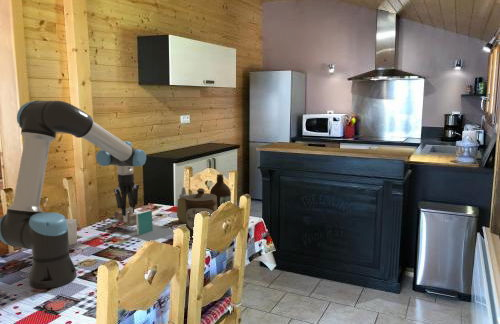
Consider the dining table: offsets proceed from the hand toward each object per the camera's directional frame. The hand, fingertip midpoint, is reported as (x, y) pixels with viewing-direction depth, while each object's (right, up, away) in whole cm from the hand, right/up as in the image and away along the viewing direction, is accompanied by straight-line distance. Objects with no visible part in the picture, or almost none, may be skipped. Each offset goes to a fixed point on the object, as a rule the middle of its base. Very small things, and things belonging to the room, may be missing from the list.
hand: (128, 220), depth 205 cm
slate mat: (+13, -5, -6) cm, 15 cm away
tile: (+10, -5, -7) cm, 13 cm away
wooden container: (+37, -5, -9) cm, 38 cm away
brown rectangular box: (-1, 0, +1) cm, 1 cm away
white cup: (-21, -8, -18) cm, 29 cm away
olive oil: (+45, -3, +9) cm, 46 cm away
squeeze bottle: (+26, -2, +12) cm, 28 cm away
